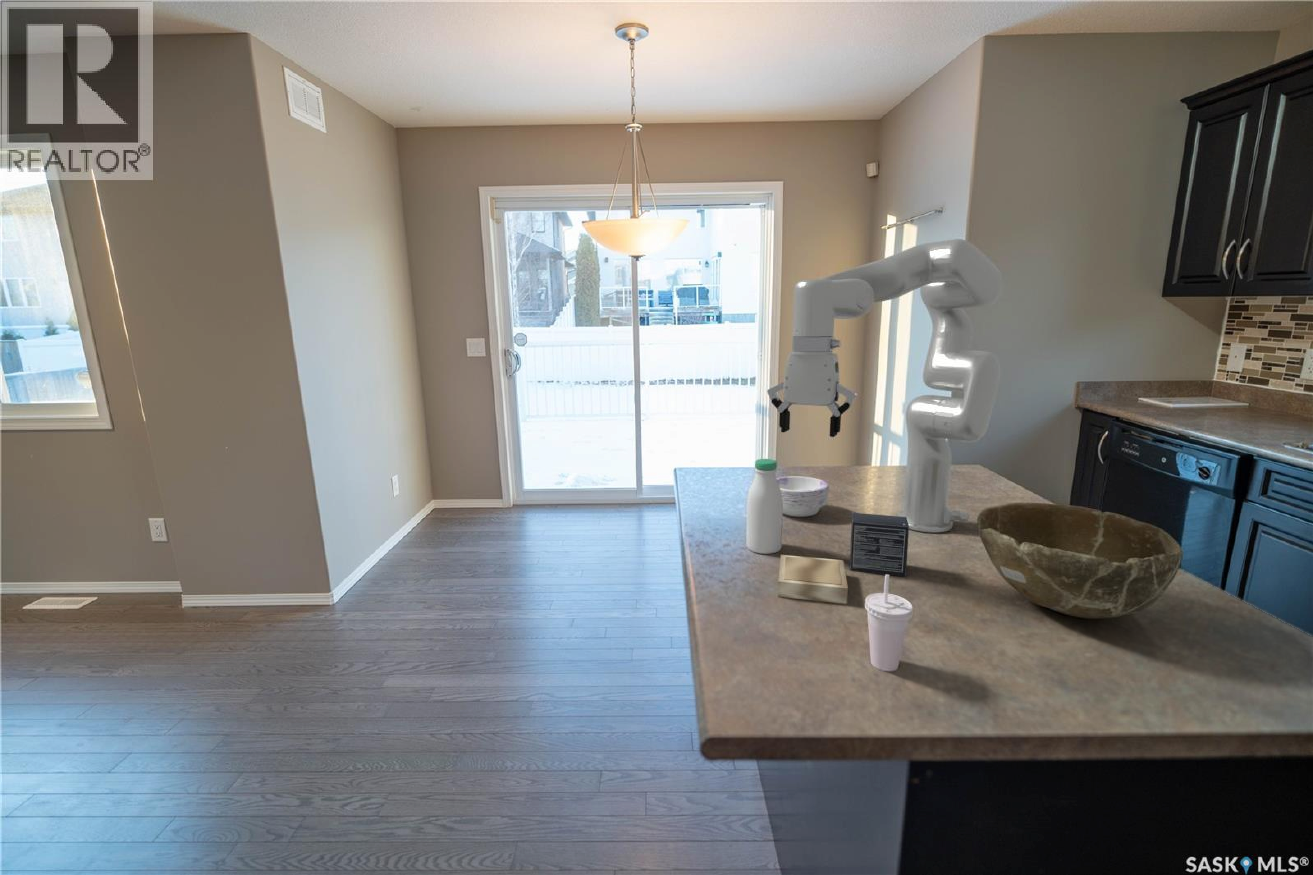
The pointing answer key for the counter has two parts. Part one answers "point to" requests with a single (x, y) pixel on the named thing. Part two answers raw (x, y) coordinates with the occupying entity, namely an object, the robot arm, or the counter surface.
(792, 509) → the paper bowls
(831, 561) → the base
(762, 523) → the milk bottle
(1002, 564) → the bowl
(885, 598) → the smoothie
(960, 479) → the counter surface
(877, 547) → the small box
